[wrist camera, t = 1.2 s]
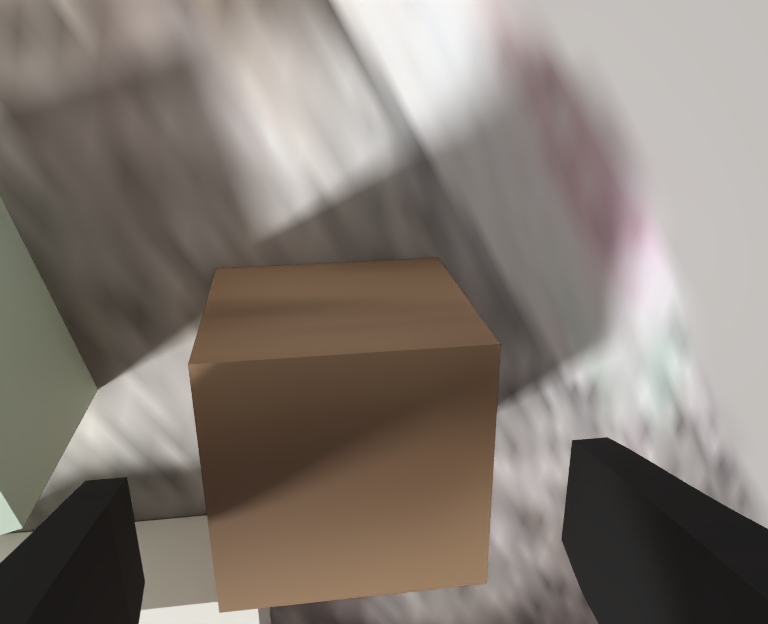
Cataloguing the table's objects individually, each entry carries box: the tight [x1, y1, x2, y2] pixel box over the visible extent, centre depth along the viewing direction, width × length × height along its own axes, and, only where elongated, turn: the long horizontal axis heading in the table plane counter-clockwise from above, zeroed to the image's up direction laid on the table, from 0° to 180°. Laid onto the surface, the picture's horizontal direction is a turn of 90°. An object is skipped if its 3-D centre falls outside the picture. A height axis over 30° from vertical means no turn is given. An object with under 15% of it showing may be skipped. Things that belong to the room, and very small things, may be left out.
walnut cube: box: [188, 258, 501, 613], centre depth 14 cm, size 5×5×5 cm
